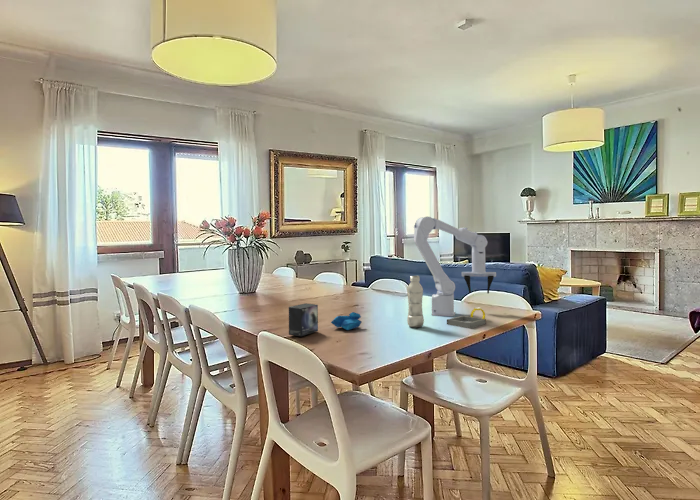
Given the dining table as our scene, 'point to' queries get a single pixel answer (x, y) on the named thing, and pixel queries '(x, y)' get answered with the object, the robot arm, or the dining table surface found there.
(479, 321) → the box
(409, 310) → the plastic bottle
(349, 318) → the crystal
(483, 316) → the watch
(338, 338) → the dining table surface
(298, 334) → the small box
